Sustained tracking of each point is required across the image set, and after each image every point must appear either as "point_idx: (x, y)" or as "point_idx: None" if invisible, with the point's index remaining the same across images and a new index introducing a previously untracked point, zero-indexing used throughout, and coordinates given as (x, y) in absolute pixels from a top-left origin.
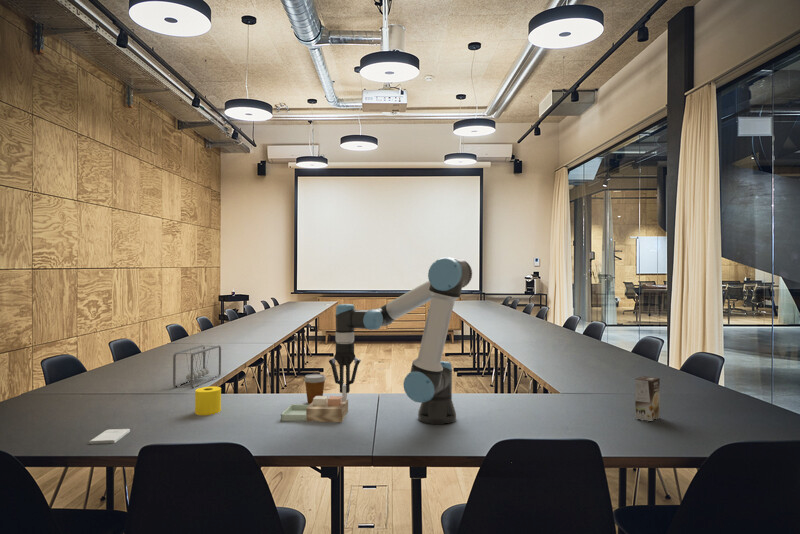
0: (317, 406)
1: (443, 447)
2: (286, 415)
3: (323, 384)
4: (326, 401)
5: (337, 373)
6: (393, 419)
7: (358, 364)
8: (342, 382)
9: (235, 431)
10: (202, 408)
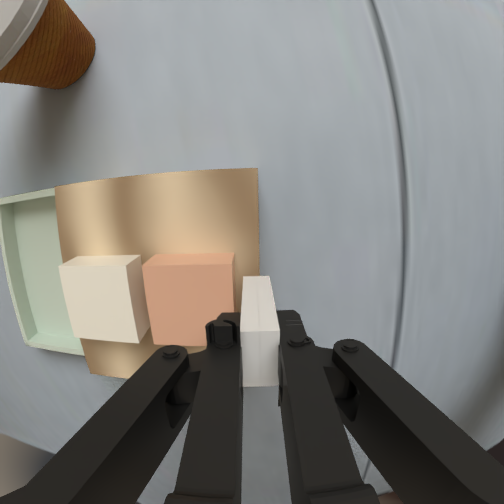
0: (119, 344)
1: (480, 437)
2: (41, 346)
3: (52, 18)
4: (141, 305)
5: (144, 410)
6: (456, 285)
7: (499, 486)
8: (242, 402)
9: (12, 402)
10: None
